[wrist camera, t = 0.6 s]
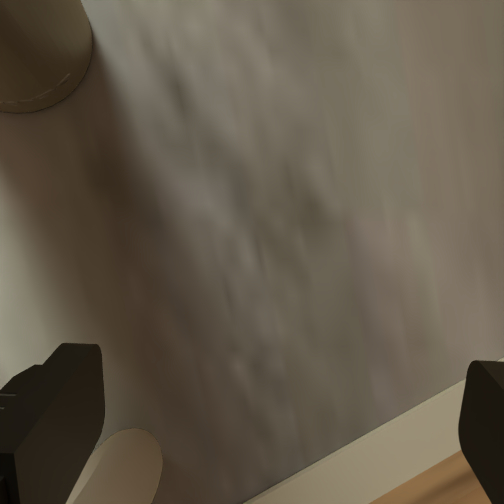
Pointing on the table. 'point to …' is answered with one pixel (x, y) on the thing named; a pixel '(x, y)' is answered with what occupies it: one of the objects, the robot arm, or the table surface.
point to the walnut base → (440, 485)
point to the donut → (121, 471)
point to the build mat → (378, 457)
